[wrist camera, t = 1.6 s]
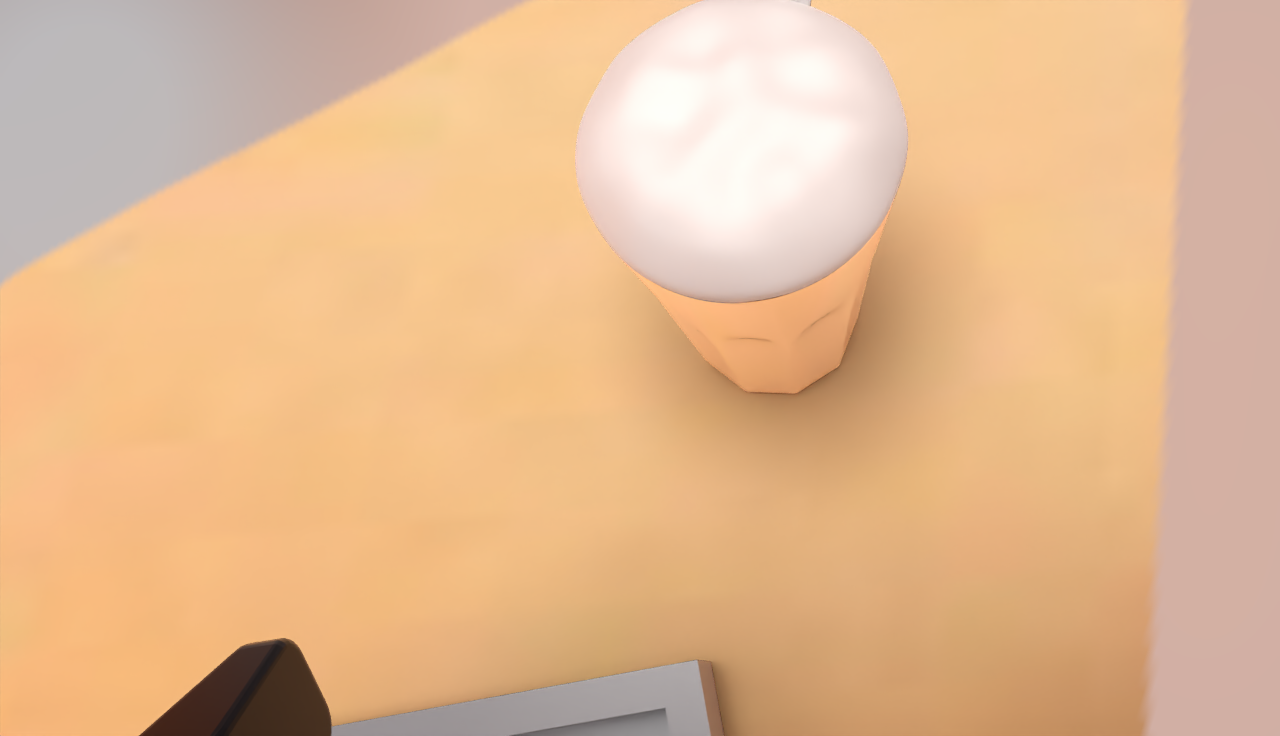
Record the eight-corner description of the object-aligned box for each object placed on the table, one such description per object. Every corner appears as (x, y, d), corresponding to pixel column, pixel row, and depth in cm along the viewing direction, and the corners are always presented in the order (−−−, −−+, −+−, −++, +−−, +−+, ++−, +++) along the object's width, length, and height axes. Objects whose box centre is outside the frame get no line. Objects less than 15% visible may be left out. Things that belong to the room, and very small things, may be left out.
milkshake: (933, 220, 23) (988, -99, 14) (841, 460, 22) (834, 295, 13) (728, 158, 24) (649, -175, 15) (632, 383, 23) (484, 180, 14)
